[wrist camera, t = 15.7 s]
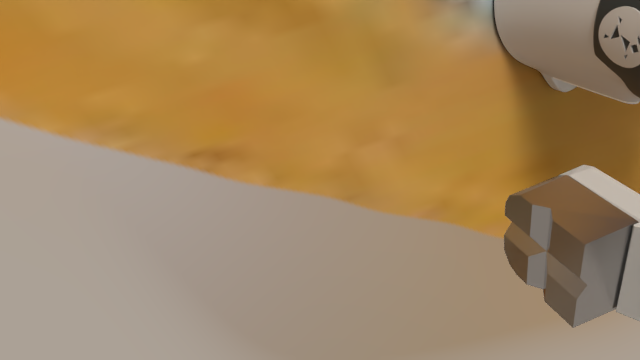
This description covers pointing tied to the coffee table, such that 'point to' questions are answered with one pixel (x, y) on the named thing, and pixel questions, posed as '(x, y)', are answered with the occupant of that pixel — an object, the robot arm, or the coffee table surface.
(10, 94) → the coffee table surface
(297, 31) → the coffee table surface
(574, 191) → the robot arm
